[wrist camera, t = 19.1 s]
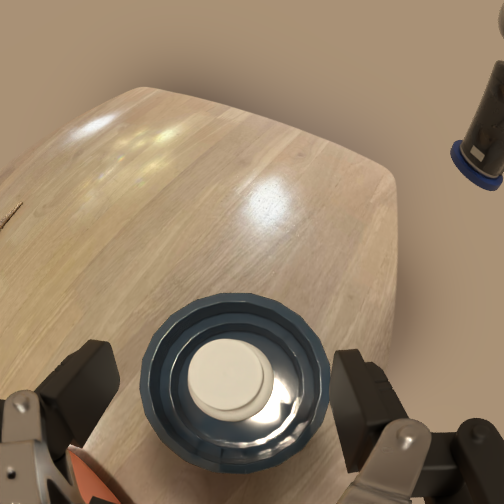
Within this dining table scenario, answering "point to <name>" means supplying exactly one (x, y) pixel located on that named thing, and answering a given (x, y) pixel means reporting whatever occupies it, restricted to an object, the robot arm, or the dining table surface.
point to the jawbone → (9, 215)
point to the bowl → (258, 426)
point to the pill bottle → (230, 379)
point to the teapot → (90, 482)
